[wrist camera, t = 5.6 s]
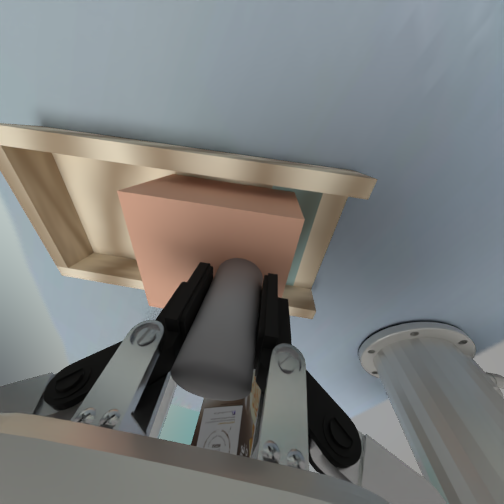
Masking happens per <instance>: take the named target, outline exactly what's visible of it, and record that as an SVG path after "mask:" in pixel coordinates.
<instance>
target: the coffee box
mask: <svg viewBox="0 0 504 504" xmlns="http://www.w3.org/2000/svg"><path fill="white" fill-rule="evenodd" d="M255 381H256V376H255V369H254V370H253V380H252V389H251V393H250V394H249V395H248V396H247V397H245V398H243V399H239V400H234V401H219V400H212V399H208V398H204V400H203V404H202V407H201V411H200V415H199V418H198V422H197V425H196V429H195V432H194V436H193V440H192V443H191V446H196V447H201V448H206V449H210V450H215V451H220V452H225V453H229V454H234V455H239V456H244V457H248V458H250V455H251V448H252V442H253V435H254V429H255V423H256V416H257V410H258V403H259V397H260V391H261V389H260V388H259V386H258V385H257V383H256V382H255Z"/></svg>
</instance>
